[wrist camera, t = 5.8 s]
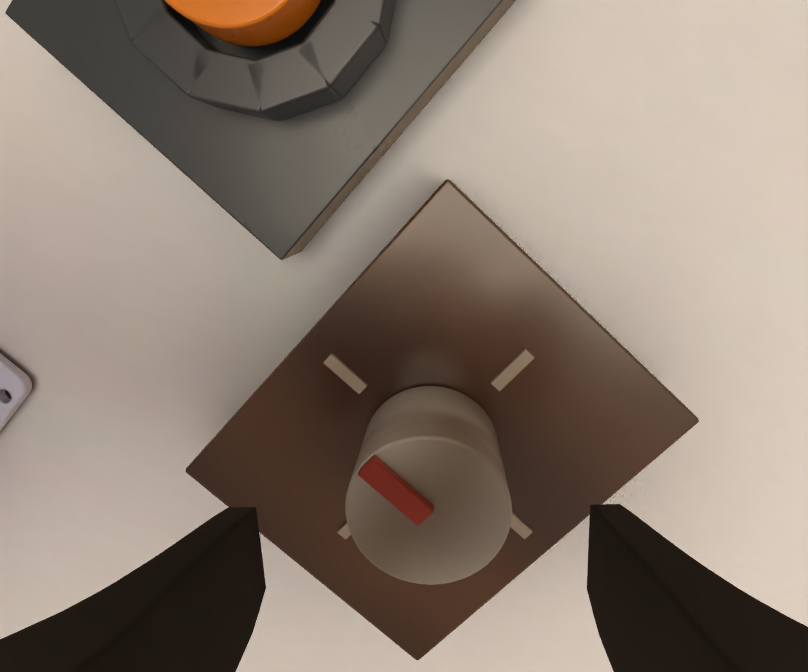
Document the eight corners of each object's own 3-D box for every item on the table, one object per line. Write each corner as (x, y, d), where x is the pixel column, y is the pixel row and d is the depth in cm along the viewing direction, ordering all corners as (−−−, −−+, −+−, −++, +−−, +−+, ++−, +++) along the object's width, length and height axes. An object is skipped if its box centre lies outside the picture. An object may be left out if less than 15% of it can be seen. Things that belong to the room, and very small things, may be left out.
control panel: (420, 600, 22) (417, 666, 19) (219, 432, 21) (180, 474, 18) (662, 386, 19) (703, 423, 16) (446, 179, 18) (447, 177, 15)
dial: (526, 447, 17) (550, 520, 13) (433, 532, 18) (430, 623, 14) (427, 357, 16) (423, 406, 13) (337, 449, 17) (307, 520, 14)
